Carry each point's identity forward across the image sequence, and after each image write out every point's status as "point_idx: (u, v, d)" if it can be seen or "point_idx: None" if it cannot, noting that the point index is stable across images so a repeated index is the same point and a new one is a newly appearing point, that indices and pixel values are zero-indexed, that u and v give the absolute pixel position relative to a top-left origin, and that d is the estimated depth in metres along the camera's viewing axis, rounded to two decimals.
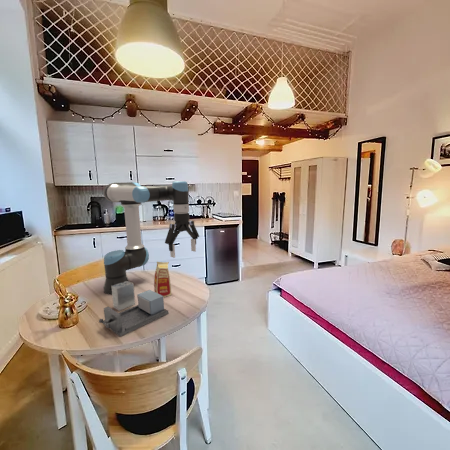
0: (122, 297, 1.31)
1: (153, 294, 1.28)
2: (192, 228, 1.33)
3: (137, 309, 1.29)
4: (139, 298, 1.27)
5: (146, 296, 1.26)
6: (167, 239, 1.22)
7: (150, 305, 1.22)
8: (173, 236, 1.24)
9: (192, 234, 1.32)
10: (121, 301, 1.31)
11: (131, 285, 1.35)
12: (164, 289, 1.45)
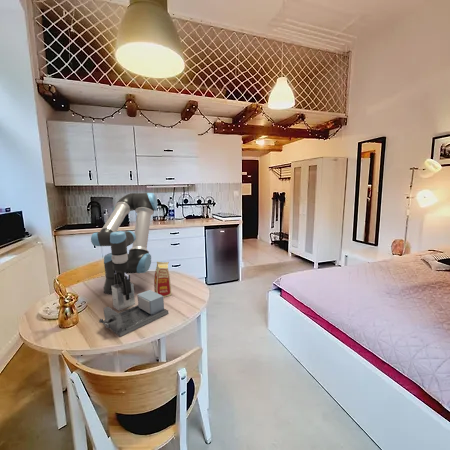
0: (122, 297, 1.31)
1: (153, 294, 1.28)
2: None
3: (137, 309, 1.29)
4: (139, 298, 1.27)
5: (146, 296, 1.26)
6: None
7: (150, 305, 1.22)
8: None
9: (123, 287, 1.31)
10: (121, 301, 1.31)
11: (131, 285, 1.35)
12: (164, 289, 1.45)
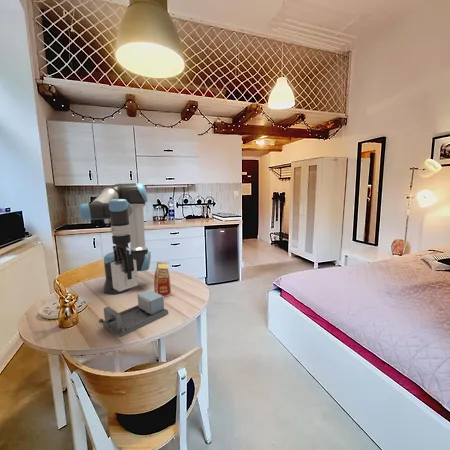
0: (123, 276, 1.12)
1: (153, 294, 1.28)
2: None
3: (137, 309, 1.29)
4: (139, 298, 1.27)
5: (146, 296, 1.26)
6: None
7: (150, 305, 1.22)
8: None
9: (124, 264, 1.12)
10: (122, 280, 1.12)
11: (133, 262, 1.16)
12: (164, 289, 1.45)
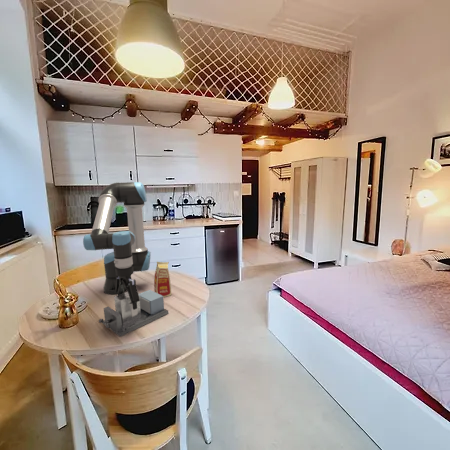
0: (126, 310, 1.15)
1: (153, 294, 1.28)
2: None
3: None
4: (139, 298, 1.27)
5: (146, 296, 1.26)
6: None
7: (150, 305, 1.22)
8: None
9: (129, 295, 1.14)
10: (125, 314, 1.15)
11: None
12: (164, 289, 1.45)
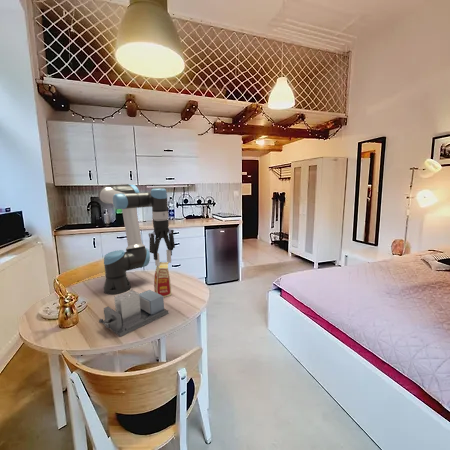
0: (126, 310, 1.15)
1: (153, 294, 1.28)
2: (170, 237, 1.33)
3: None
4: (139, 298, 1.27)
5: (146, 296, 1.26)
6: (150, 249, 1.25)
7: (150, 305, 1.22)
8: (155, 245, 1.27)
9: (168, 244, 1.32)
10: (125, 314, 1.15)
11: (136, 295, 1.19)
12: (164, 289, 1.45)
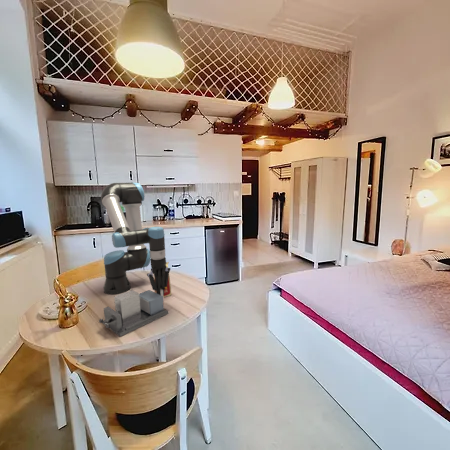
0: (126, 310, 1.15)
1: (153, 294, 1.28)
2: (165, 275, 1.33)
3: None
4: (139, 298, 1.27)
5: (146, 296, 1.26)
6: (153, 287, 1.28)
7: (150, 305, 1.21)
8: (156, 283, 1.29)
9: (162, 282, 1.31)
10: (125, 314, 1.15)
11: (136, 295, 1.19)
12: None
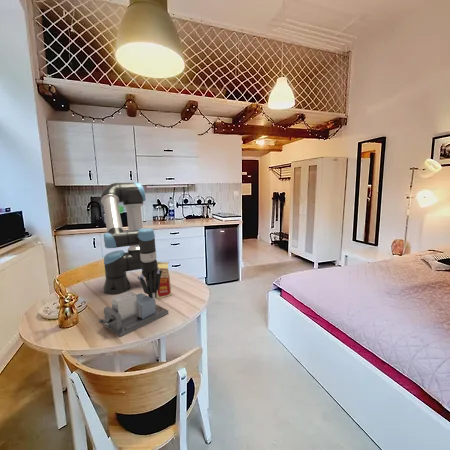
0: (123, 311, 1.14)
1: (145, 297, 1.25)
2: (157, 278, 1.30)
3: None
4: None
5: (137, 300, 1.22)
6: (144, 290, 1.25)
7: (141, 309, 1.18)
8: (148, 286, 1.26)
9: (154, 285, 1.27)
10: (122, 315, 1.14)
11: (134, 296, 1.17)
12: (164, 289, 1.45)
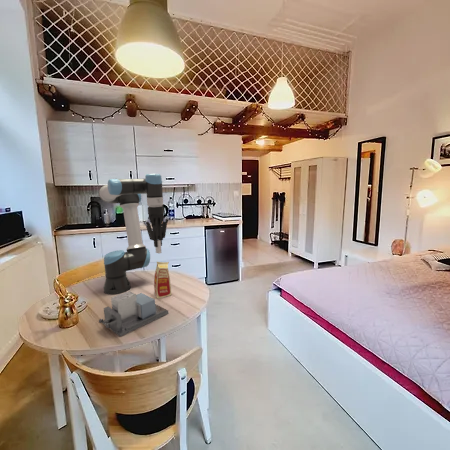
0: (123, 311, 1.14)
1: (145, 297, 1.25)
2: (163, 226, 1.29)
3: None
4: None
5: (137, 300, 1.22)
6: (150, 236, 1.24)
7: (141, 309, 1.18)
8: (154, 232, 1.25)
9: (160, 232, 1.27)
10: (122, 315, 1.14)
11: (134, 296, 1.17)
12: (164, 289, 1.45)
